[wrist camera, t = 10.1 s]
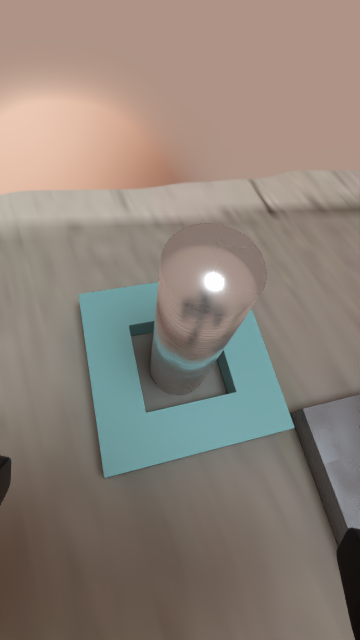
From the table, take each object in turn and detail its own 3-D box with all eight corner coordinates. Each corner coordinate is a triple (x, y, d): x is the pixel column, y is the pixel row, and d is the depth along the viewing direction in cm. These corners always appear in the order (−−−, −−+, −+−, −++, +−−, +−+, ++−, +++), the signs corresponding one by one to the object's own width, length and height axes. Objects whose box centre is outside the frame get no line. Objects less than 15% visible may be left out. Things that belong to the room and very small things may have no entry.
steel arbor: (176, 406, 23) (215, 336, 11) (138, 364, 24) (137, 258, 12) (216, 369, 24) (288, 272, 13) (179, 331, 25) (213, 207, 14)
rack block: (107, 477, 21) (104, 478, 19) (82, 307, 25) (78, 294, 23) (282, 431, 23) (294, 427, 21) (231, 283, 28) (237, 270, 26)
